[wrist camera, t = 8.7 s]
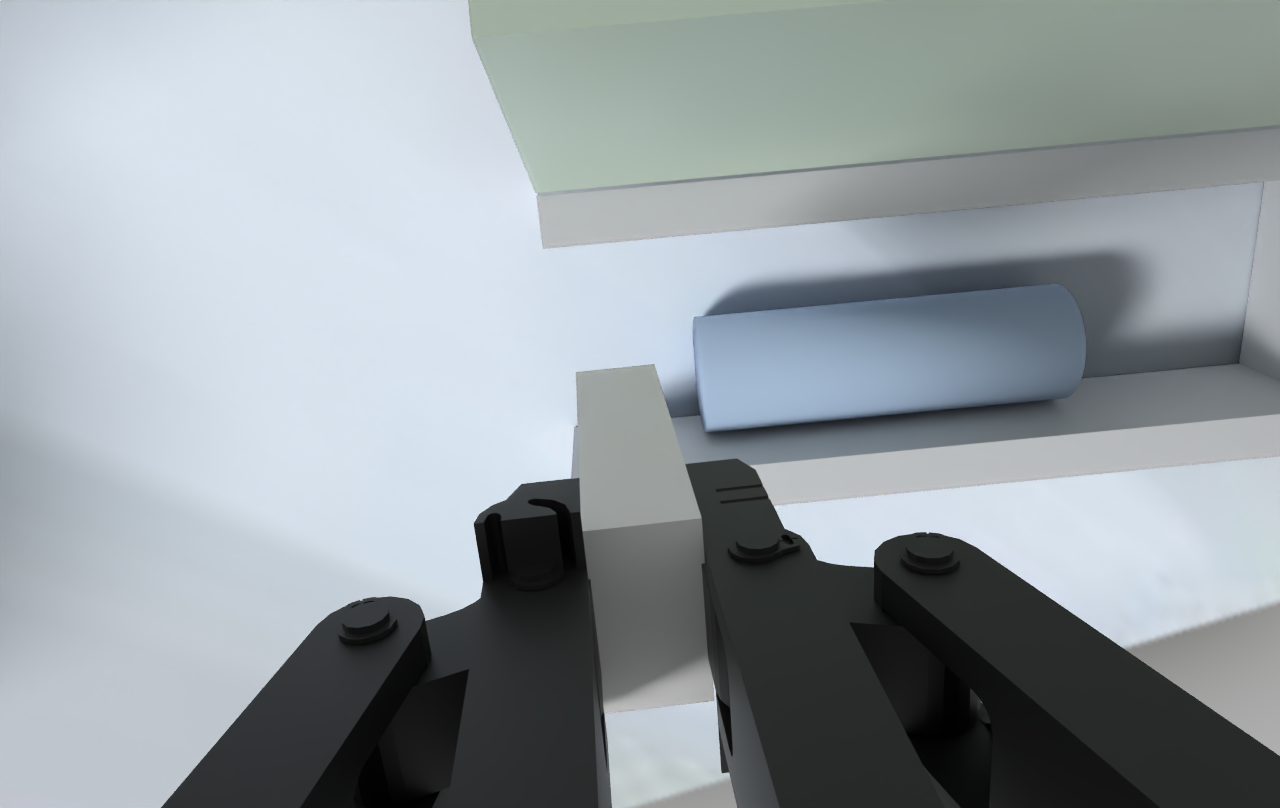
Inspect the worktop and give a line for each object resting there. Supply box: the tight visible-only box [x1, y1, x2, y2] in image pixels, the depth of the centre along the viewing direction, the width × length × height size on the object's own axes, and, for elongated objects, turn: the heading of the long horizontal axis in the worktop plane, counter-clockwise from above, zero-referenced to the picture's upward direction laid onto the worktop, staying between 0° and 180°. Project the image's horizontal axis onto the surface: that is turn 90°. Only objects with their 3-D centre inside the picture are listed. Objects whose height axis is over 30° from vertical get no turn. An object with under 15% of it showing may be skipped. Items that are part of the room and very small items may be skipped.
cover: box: [468, 0, 1280, 193], centre depth 17 cm, size 20×9×1 cm
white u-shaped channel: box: [537, 125, 1280, 506], centre depth 24 cm, size 21×8×4 cm, turn 95°
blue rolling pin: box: [693, 284, 1086, 433], centre depth 25 cm, size 10×3×3 cm
